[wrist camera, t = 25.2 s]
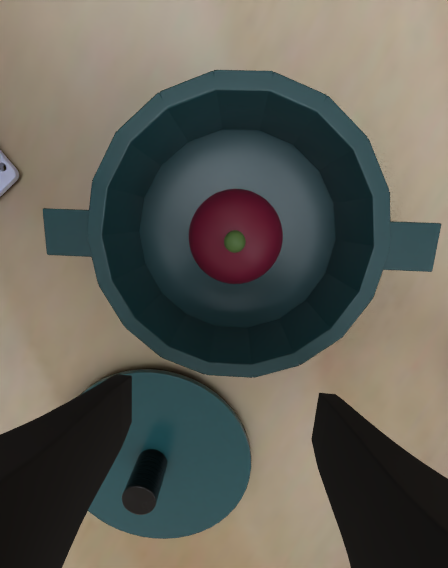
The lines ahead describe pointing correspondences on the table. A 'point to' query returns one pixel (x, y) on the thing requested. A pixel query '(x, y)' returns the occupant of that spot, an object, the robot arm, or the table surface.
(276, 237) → the beet
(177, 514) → the pot lid
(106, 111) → the table surface
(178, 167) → the pot
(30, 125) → the table surface
